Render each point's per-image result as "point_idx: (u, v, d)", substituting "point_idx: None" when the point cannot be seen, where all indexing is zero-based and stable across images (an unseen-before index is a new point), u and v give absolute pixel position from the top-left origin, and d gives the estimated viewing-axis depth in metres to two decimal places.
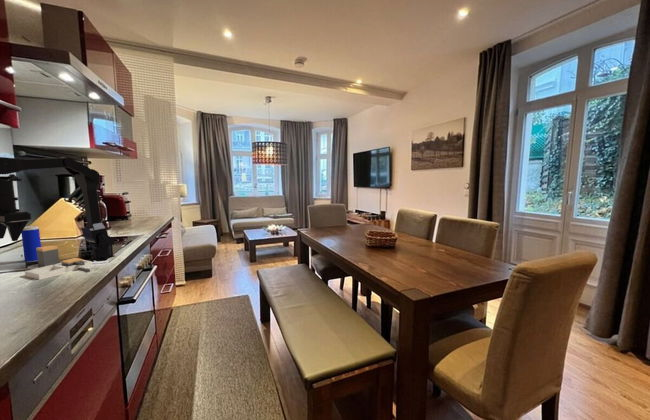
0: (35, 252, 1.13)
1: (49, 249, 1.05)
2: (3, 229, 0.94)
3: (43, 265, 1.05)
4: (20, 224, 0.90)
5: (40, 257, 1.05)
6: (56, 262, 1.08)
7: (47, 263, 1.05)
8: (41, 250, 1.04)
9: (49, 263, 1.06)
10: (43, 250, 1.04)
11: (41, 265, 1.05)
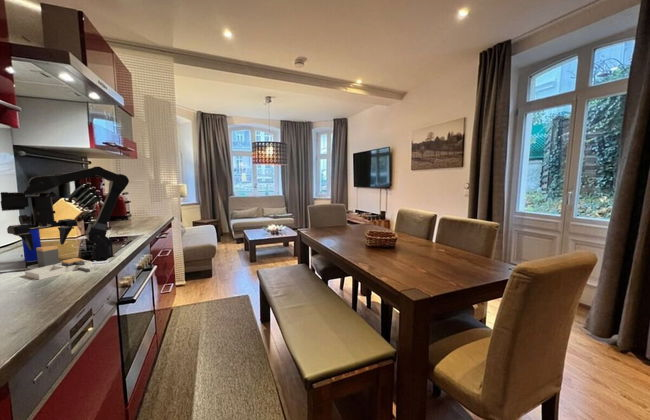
0: (35, 252, 1.13)
1: (49, 249, 1.05)
2: (62, 237, 1.10)
3: (43, 265, 1.05)
4: None
5: (40, 257, 1.05)
6: (56, 262, 1.08)
7: (47, 263, 1.05)
8: (41, 250, 1.04)
9: (49, 263, 1.06)
10: (43, 250, 1.04)
11: (41, 265, 1.05)
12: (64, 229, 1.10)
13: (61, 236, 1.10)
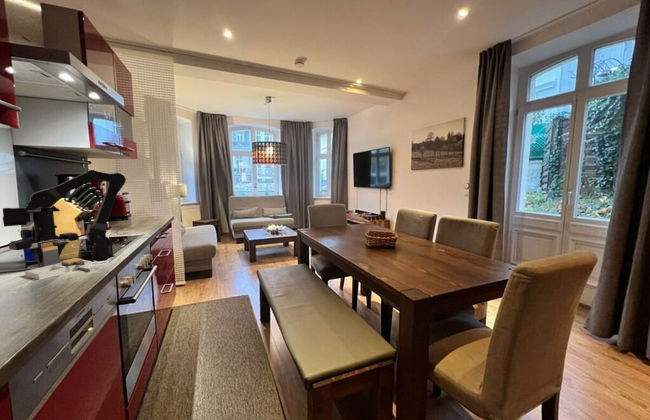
0: None
1: (49, 249, 1.05)
2: None
3: (43, 265, 1.05)
4: None
5: None
6: (56, 262, 1.08)
7: (47, 263, 1.05)
8: (41, 250, 1.04)
9: (49, 263, 1.06)
10: (43, 250, 1.04)
11: (41, 265, 1.05)
12: (58, 244, 1.08)
13: None
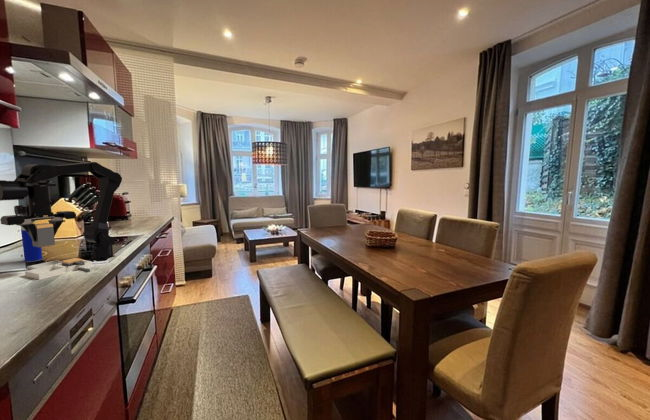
0: (35, 252, 1.13)
1: (44, 226, 0.98)
2: None
3: (37, 243, 0.98)
4: None
5: None
6: (51, 241, 1.01)
7: (42, 241, 0.98)
8: (35, 227, 0.97)
9: (43, 241, 0.99)
10: (37, 227, 0.97)
11: (35, 243, 0.98)
12: (54, 222, 1.01)
13: None
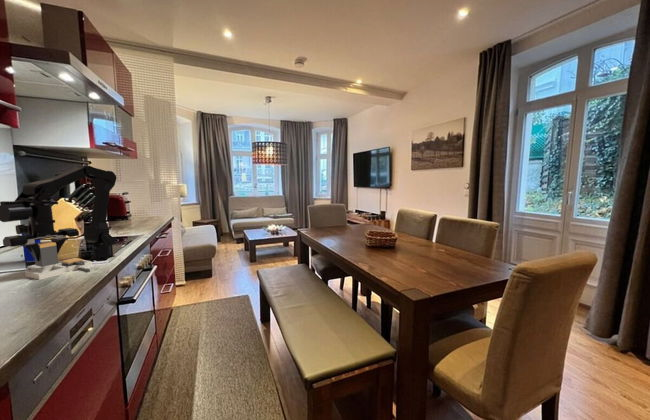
0: None
1: (47, 246, 0.97)
2: None
3: (40, 263, 0.96)
4: None
5: None
6: (54, 260, 0.99)
7: (45, 261, 0.97)
8: (38, 247, 0.96)
9: (47, 261, 0.97)
10: (40, 247, 0.96)
11: (38, 263, 0.97)
12: (57, 240, 1.00)
13: None
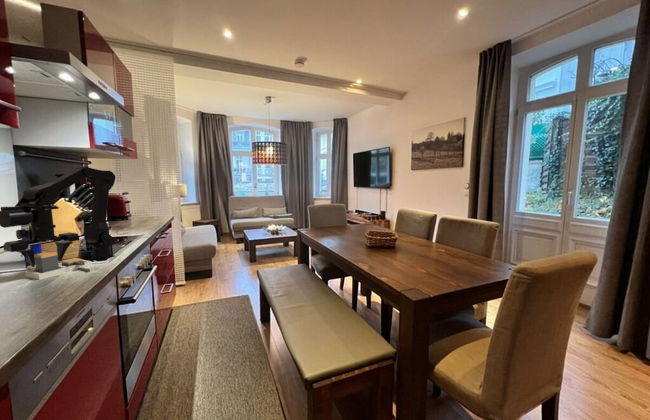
0: (35, 252, 1.13)
1: (48, 256, 0.98)
2: (60, 253, 1.02)
3: None
4: None
5: (39, 265, 0.97)
6: (56, 269, 1.00)
7: (46, 271, 0.97)
8: (39, 257, 0.96)
9: None
10: (42, 257, 0.96)
11: None
12: (62, 244, 1.02)
13: (59, 252, 1.02)
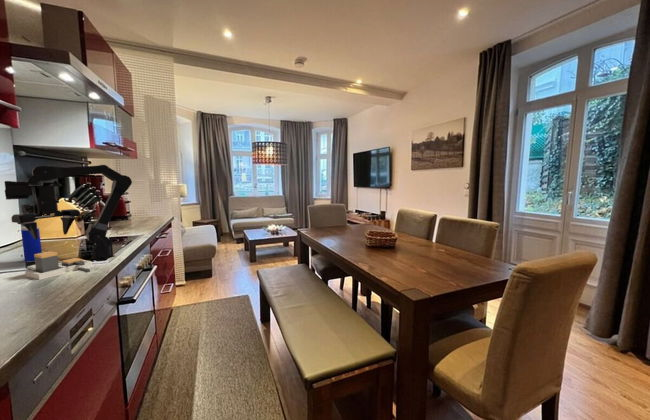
0: (35, 252, 1.13)
1: (48, 256, 0.98)
2: (65, 227, 1.11)
3: None
4: None
5: (39, 265, 0.97)
6: (56, 269, 1.00)
7: (46, 271, 0.97)
8: (39, 257, 0.96)
9: None
10: (42, 257, 0.96)
11: None
12: (67, 219, 1.10)
13: (64, 226, 1.11)
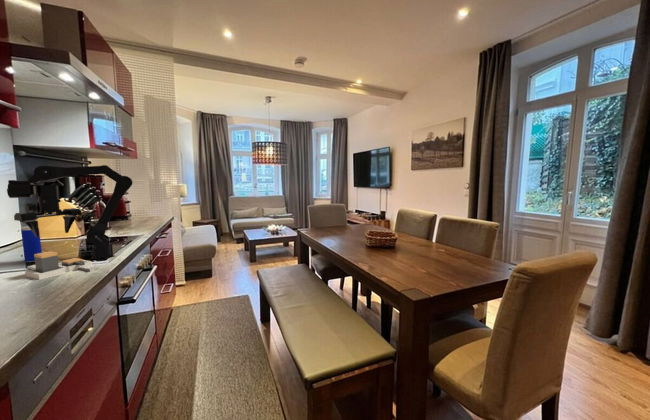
0: (35, 252, 1.13)
1: (48, 256, 0.98)
2: (67, 226, 1.13)
3: None
4: None
5: (39, 265, 0.97)
6: (56, 269, 1.00)
7: (46, 271, 0.97)
8: (39, 257, 0.96)
9: None
10: (42, 257, 0.96)
11: None
12: (69, 218, 1.13)
13: (66, 225, 1.13)
